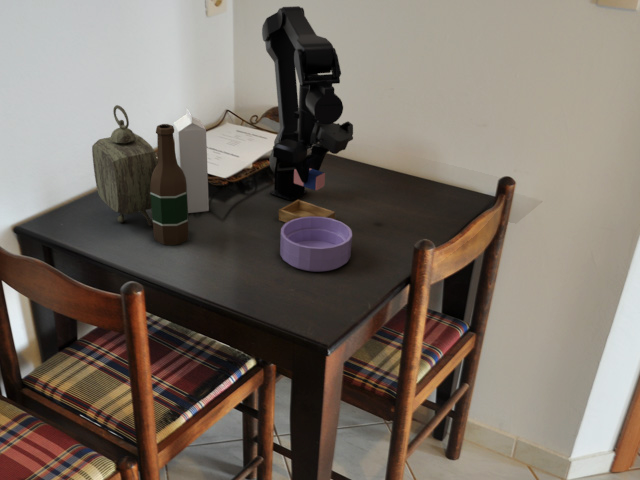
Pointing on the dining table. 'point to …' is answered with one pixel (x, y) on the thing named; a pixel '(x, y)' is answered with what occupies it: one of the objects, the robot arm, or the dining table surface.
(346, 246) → the bowl
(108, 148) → the tabletop clock
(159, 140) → the beer bottle
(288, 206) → the tray
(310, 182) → the eraser
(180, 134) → the milk
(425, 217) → the dining table surface
